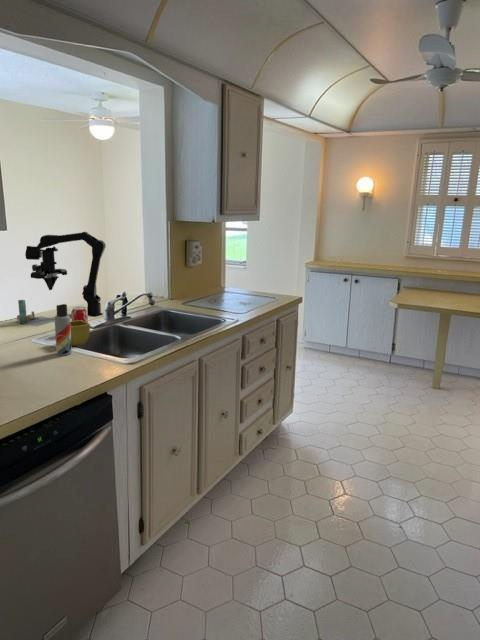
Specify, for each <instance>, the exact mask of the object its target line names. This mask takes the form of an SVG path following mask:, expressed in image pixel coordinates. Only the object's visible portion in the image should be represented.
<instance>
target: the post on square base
mask: <svg viewBox="0 0 480 640" xmlns="http://www.w3.org/2000/svg"><path fill="white" fill-rule="evenodd" d="M31 315H33V319H30V320H37V319H39V318H37V317H38V316H35V311H31Z"/></svg>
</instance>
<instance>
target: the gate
mask: <svg viewBox="0 0 480 640" xmlns="http://www.w3.org/2000/svg"><path fill="white" fill-rule="evenodd" d="M17 302H18V315H19V316H20V323H19V324H23V325H26V324H25V323H27V321H28V320H30V319H33V315H32V313H31V314H28V315H27V308H26V307H27V305H26V304H27V303H26V300H25V299H19V300H18V301H17Z"/></svg>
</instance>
